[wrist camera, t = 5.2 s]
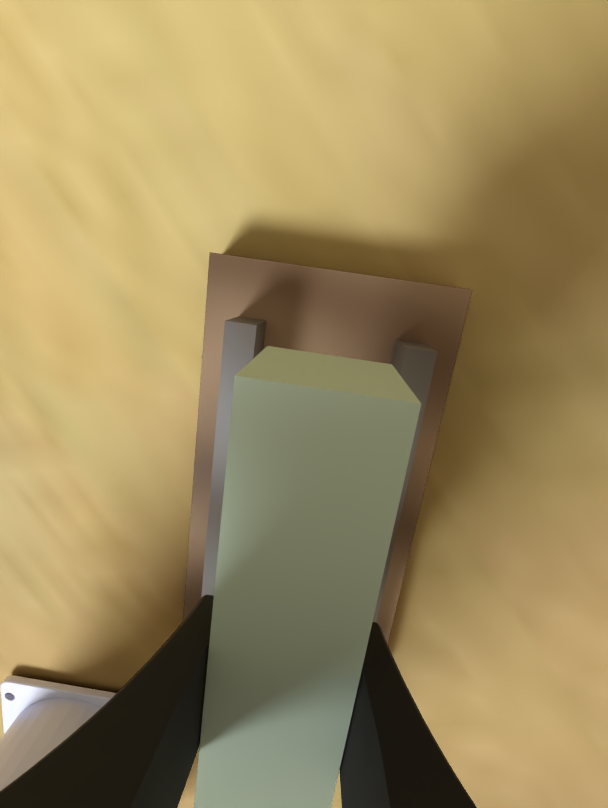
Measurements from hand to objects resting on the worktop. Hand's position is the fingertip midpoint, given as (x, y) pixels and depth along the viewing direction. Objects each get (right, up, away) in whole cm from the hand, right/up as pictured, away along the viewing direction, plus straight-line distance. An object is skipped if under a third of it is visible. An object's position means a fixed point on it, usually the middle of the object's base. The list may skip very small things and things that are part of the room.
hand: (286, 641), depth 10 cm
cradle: (0, +2, +8) cm, 8 cm away
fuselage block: (0, 0, +2) cm, 2 cm away
